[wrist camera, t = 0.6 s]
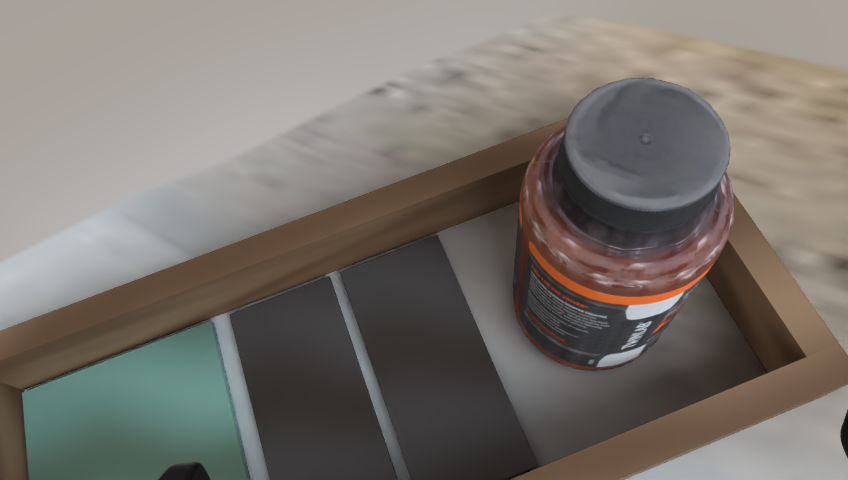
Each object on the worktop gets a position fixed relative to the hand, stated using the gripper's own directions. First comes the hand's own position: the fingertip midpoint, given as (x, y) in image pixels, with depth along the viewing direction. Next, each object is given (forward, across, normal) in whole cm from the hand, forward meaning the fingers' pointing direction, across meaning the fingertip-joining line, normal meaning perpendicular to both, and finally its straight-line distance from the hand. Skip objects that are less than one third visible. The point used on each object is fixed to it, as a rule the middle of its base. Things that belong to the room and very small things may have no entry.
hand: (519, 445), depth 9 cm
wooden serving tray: (+12, +4, +11) cm, 17 cm away
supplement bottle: (+14, -4, +10) cm, 18 cm away
